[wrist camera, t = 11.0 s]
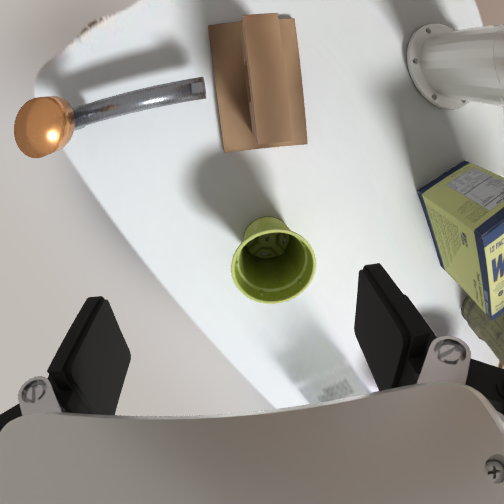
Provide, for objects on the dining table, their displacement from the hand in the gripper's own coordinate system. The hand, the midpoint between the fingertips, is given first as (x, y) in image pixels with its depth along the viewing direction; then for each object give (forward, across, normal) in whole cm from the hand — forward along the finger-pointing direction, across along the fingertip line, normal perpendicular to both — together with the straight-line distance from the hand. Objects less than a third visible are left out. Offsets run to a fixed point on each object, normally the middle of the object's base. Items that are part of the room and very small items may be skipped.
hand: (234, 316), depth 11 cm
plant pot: (+31, -3, +11) cm, 33 cm away
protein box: (+31, -33, +11) cm, 46 cm away
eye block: (+30, -4, -9) cm, 32 cm away
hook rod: (+28, +12, -9) cm, 32 cm away
